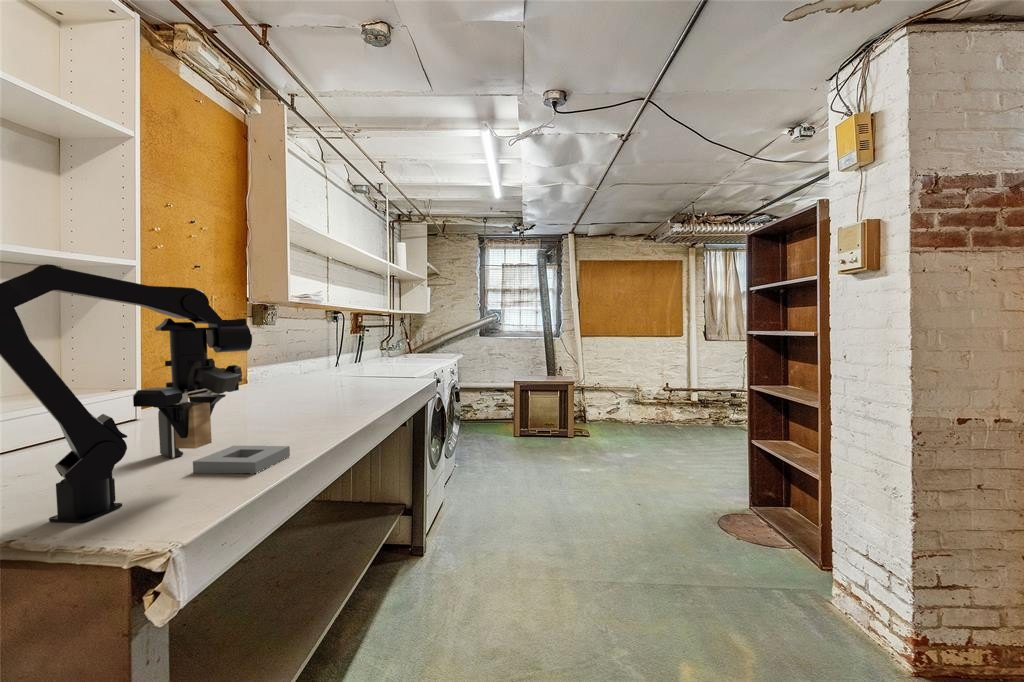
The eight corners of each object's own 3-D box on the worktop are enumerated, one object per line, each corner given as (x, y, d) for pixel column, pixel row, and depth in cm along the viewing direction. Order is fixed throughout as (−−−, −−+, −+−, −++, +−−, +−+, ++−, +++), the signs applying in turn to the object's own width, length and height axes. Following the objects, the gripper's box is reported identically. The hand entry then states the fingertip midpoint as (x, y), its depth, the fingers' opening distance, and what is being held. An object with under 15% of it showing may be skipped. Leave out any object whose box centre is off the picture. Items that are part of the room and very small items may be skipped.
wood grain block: (195, 448, 83) (193, 406, 83) (175, 448, 83) (173, 406, 83) (211, 442, 87) (209, 402, 86) (192, 442, 87) (190, 402, 87)
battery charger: (188, 455, 106) (186, 408, 105) (169, 459, 103) (167, 411, 102) (178, 450, 110) (176, 405, 109) (159, 454, 107) (157, 407, 106)
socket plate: (255, 474, 92) (255, 462, 91) (193, 473, 93) (192, 461, 93) (289, 456, 103) (289, 446, 103) (234, 455, 105) (233, 445, 105)
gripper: (188, 358, 74) (192, 449, 75) (261, 350, 93) (264, 423, 93) (127, 358, 75) (133, 448, 76) (211, 351, 94) (215, 423, 95)
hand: (193, 435), depth 85 cm, fingers closed on wood grain block, 4 cm apart
